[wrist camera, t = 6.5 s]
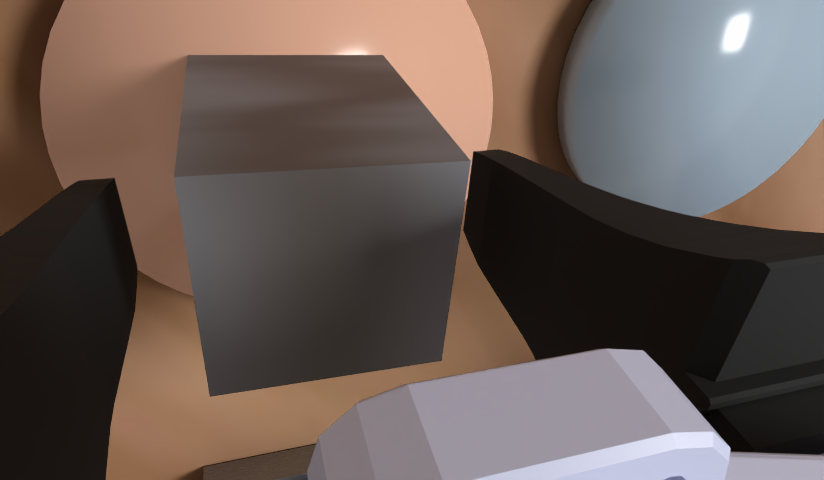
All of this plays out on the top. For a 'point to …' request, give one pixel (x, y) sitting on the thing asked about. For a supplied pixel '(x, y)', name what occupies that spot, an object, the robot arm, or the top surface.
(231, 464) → the balance
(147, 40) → the dish
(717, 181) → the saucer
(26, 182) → the top surface
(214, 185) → the block
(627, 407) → the robot arm
